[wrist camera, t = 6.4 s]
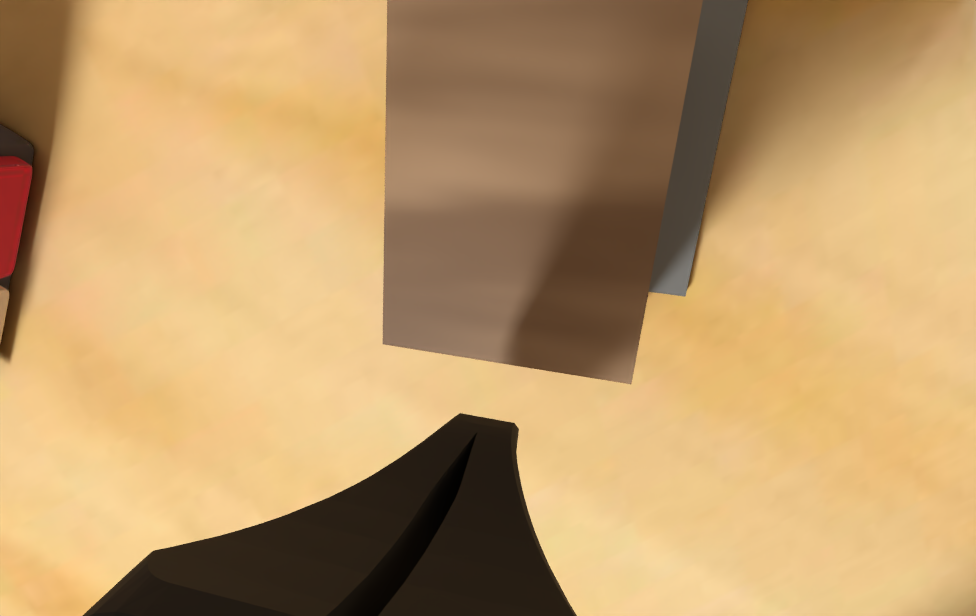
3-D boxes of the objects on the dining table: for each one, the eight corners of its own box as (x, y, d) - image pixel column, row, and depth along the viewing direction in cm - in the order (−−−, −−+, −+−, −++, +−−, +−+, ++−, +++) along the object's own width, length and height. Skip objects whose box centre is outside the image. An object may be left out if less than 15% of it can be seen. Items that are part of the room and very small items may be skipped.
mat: (683, 293, 16) (685, 296, 15) (391, 255, 17) (387, 256, 17) (782, -177, 12) (787, -184, 12) (398, -173, 13) (394, -179, 13)
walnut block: (631, 384, 12) (706, -18, 10) (382, 344, 13) (387, -29, 11) (625, 324, 16) (678, 23, 13) (431, 296, 17) (444, 11, 14)
